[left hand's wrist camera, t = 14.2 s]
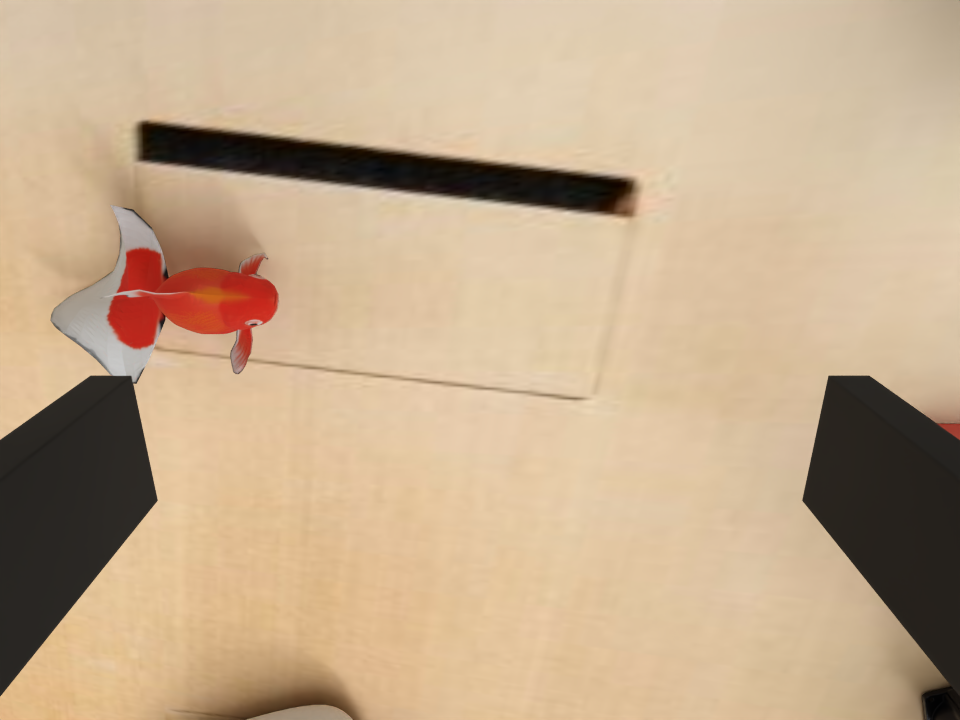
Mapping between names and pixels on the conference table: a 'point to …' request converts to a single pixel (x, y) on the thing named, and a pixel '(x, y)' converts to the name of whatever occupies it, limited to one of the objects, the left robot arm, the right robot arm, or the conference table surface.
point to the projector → (306, 714)
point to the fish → (162, 303)
